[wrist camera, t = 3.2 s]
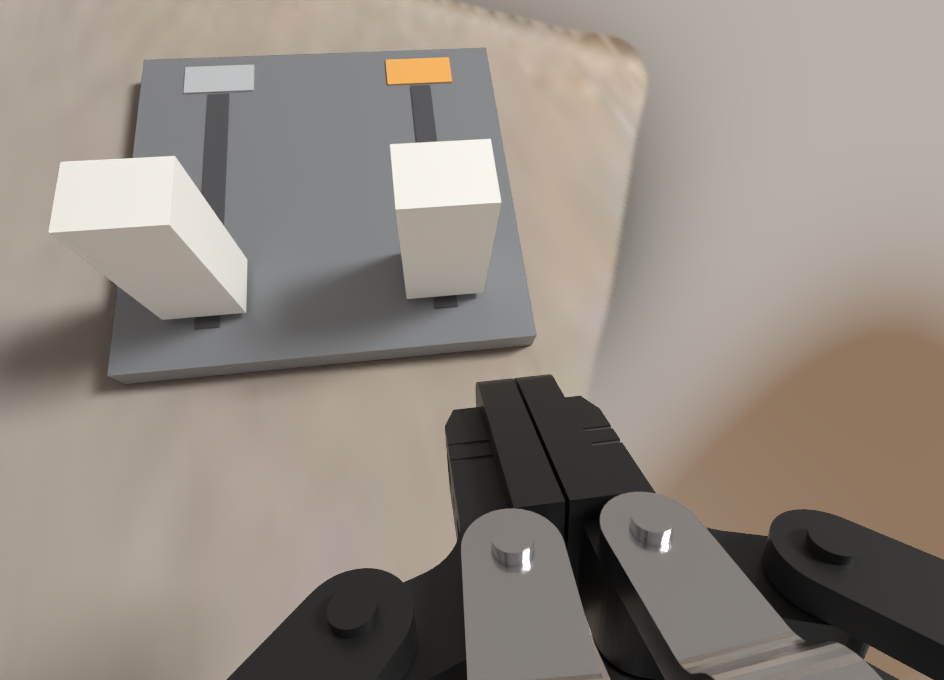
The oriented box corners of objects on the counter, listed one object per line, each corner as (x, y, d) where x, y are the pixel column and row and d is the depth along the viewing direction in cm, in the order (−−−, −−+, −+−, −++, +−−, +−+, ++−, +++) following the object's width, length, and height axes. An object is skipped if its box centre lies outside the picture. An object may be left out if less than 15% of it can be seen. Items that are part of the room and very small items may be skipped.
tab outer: (406, 299, 27) (395, 209, 19) (402, 248, 28) (389, 144, 20) (483, 292, 27) (501, 202, 20) (476, 242, 28) (490, 138, 21)
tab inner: (162, 319, 26) (48, 232, 18) (166, 265, 27) (60, 162, 19) (246, 312, 26) (169, 224, 18) (247, 259, 27) (174, 155, 19)
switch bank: (124, 384, 26) (105, 375, 25) (156, 80, 33) (143, 58, 31) (531, 345, 28) (536, 334, 27) (483, 67, 35) (485, 46, 34)
